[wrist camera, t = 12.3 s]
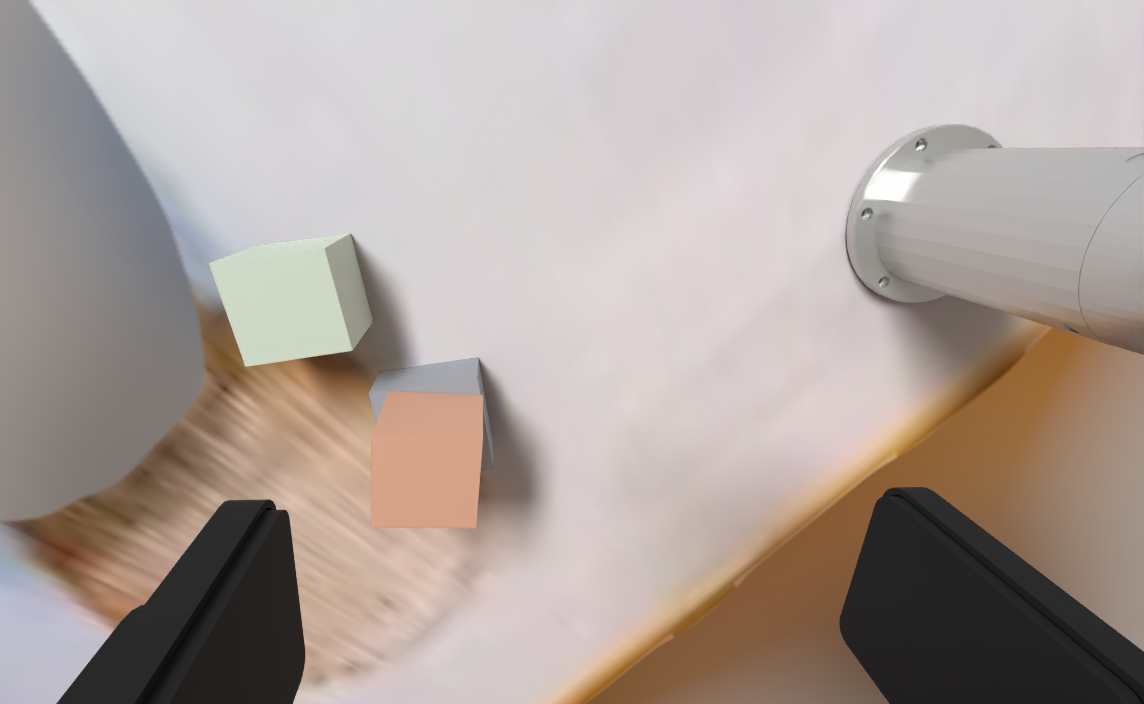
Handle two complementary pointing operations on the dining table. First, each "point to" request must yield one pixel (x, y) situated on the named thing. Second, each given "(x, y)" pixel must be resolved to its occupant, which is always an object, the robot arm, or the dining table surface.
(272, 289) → the sage cube
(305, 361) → the dining table surface
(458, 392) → the slate-grey block
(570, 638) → the dining table surface
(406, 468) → the terracotta cube
